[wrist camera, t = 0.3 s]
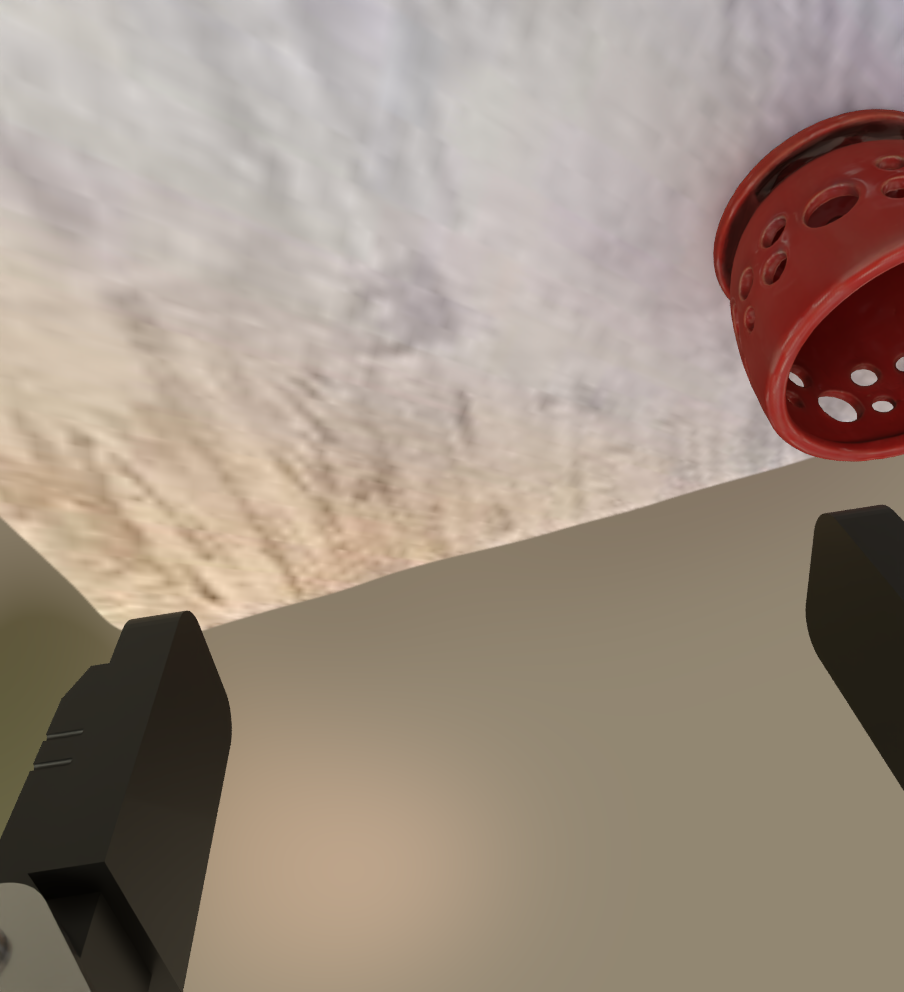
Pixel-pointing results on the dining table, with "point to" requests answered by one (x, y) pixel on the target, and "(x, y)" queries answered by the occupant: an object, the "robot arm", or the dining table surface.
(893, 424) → the plant pot
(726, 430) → the dining table surface
